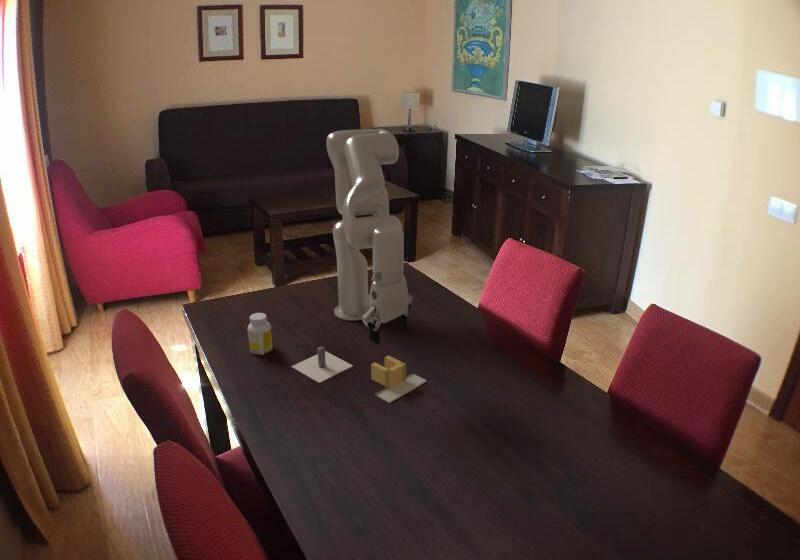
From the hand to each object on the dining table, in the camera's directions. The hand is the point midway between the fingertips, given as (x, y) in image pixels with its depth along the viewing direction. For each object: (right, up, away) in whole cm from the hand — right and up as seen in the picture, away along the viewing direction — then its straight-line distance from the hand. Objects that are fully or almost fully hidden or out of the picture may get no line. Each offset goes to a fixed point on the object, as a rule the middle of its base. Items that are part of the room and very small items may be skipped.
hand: (388, 335), depth 166 cm
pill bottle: (-37, -7, +20) cm, 43 cm away
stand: (-18, -10, +11) cm, 24 cm away
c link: (0, -12, +5) cm, 13 cm away
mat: (0, -13, +5) cm, 14 cm away
